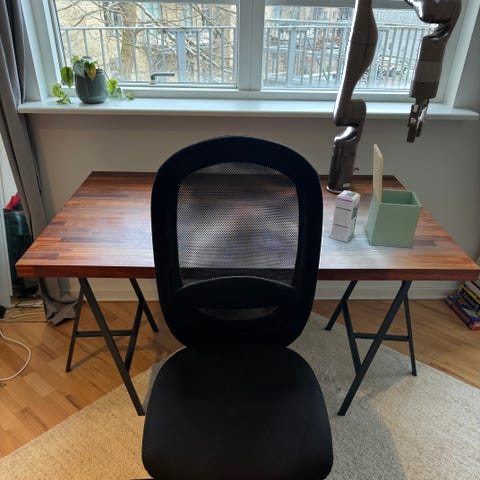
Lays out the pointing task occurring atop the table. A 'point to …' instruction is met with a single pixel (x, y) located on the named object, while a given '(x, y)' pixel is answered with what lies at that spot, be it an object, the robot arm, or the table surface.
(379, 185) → the lid
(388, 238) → the box
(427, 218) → the table surface
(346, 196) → the syrup box
